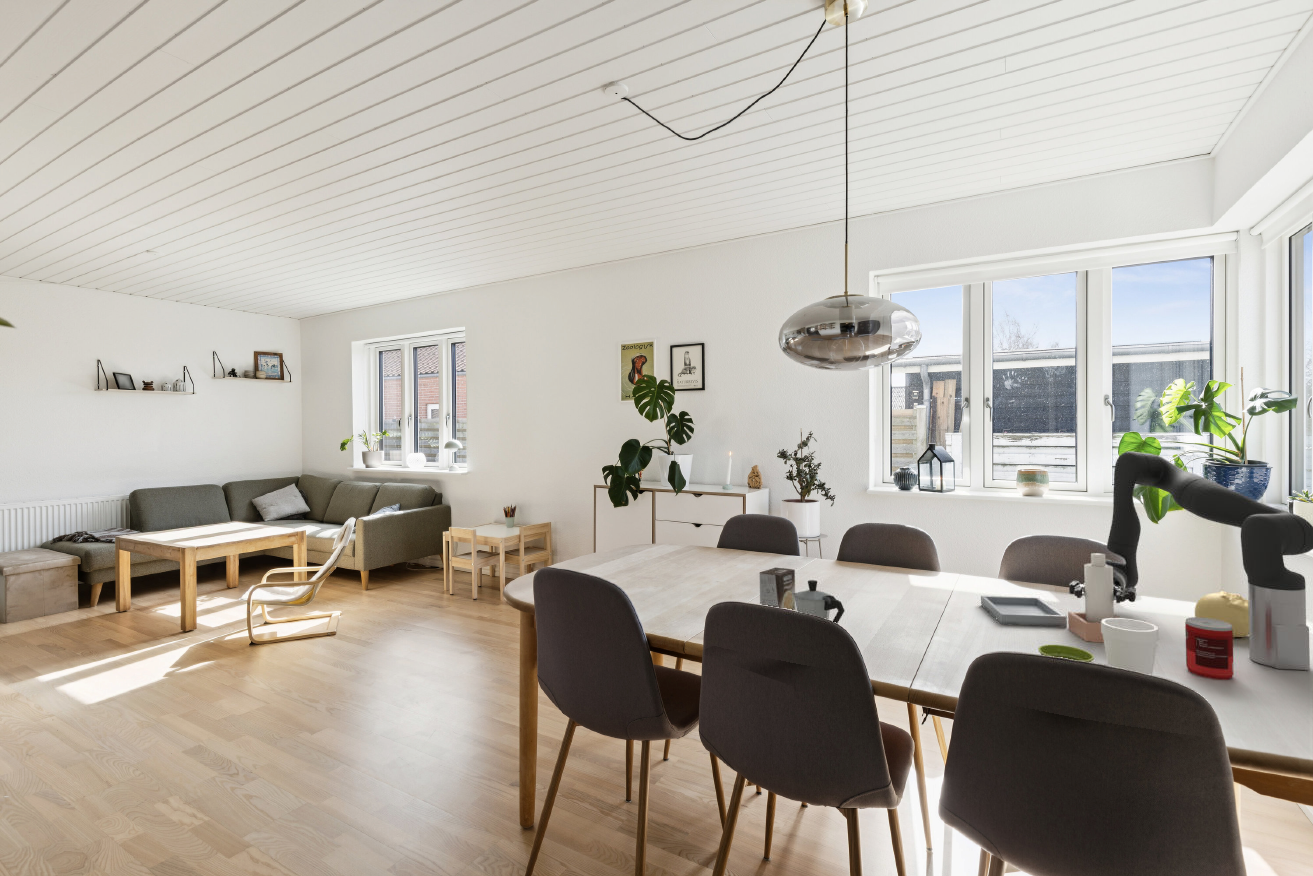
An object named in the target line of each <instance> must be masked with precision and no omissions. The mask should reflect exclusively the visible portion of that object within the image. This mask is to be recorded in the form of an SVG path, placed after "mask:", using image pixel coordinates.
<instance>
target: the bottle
mask: <svg viewBox="0 0 1313 876" xmlns="http://www.w3.org/2000/svg"><path fill="white" fill-rule="evenodd" d="M1105 559H1106V554H1105V553H1101V552H1100V553H1098V552H1096V553H1094V552H1092V553H1091V554H1090V563H1085V564H1083V565H1084V569H1083V570H1084V572H1083V573H1084V583H1085V596H1084V605H1085V606H1084V607H1085V609H1084V613H1085V618H1086V621H1087V622H1088V623H1101V621H1102V620H1103V619H1107V618H1114V614H1115V605H1114V602H1115V600H1114V597H1113V567H1112V566H1109V565H1106V564H1105Z"/></svg>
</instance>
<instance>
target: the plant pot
mask: <svg viewBox="0 0 1313 876" xmlns="http://www.w3.org/2000/svg"><path fill="white" fill-rule="evenodd" d="M1037 650H1038V652H1039V653H1040V656H1041V655H1045V656H1052V657H1053V656H1054V657H1063V658H1068V659H1073V660H1077V661H1085V662H1091V663H1092V662H1093V661H1094V660H1095V656H1094V654H1093V653H1091V652H1089V651H1087V650H1085V649H1082V648H1079V647H1075V646H1070V645H1064V644H1044V645H1041V646H1039V647H1038V649H1037Z"/></svg>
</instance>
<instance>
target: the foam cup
mask: <svg viewBox="0 0 1313 876" xmlns="http://www.w3.org/2000/svg"><path fill="white" fill-rule="evenodd" d="M1101 633H1102V634H1103V640H1104V642H1103V645H1104V650H1105V655H1106V656H1105V657H1106V662H1107V666H1108V665H1110V666H1114V667H1118V668H1124V669H1127V670H1132V671H1138V672H1141V673H1145V674H1151V675H1152V676H1153V672H1154V666H1155V665H1154V664H1155V658H1156V657H1155V656H1156V649H1157V645H1158V641H1159V639H1160V637H1159V626H1156V625H1155V624H1153V623H1150V622H1146V621H1143V620H1139V619H1134V618H1124V617H1120V618H1107V619H1103V620H1102V621H1101Z"/></svg>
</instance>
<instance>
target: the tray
mask: <svg viewBox="0 0 1313 876" xmlns="http://www.w3.org/2000/svg"><path fill="white" fill-rule="evenodd" d="M981 604H982V605H983V606H984V607H983V606H982V605H981ZM980 605H981V606H982V607H983V609H985V608H986V609H987V610H988V611H989V612H990V613H991V614H992V615H993V616H994V617H995V618H997V619H998V620H997V619H996V620H997V622H999V623H1000V622H1001V623H1002V624H1016V625H1015V626H1029V625H1039V626H1038V627H1056V626H1064V627H1063V628H1067V627H1068V624H1067V623H1068V621H1067V616H1068V615H1067V616H1066V615H1065V614H1064V613H1062V612H1060V611H1059V610H1058V609H1056V608H1055V607H1054V606H1052V605H1050V604H1049V603H1047V602H1046V601H1045V600H1044V599H1042V598H1041V597H1034V596H1032V597H1031V596H1028V597H1027V596H1026V597H1025V596H993V595H980ZM986 609H985V610H986ZM987 610H986V611H987ZM988 611H987V612H988ZM989 612H988V613H989ZM990 613H989V614H990ZM991 614H990V615H991ZM992 615H991V616H992ZM993 616H992V617H993ZM995 618H994V619H995ZM1001 623H1000V624H1001ZM1002 624H1001V625H1002Z"/></svg>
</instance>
